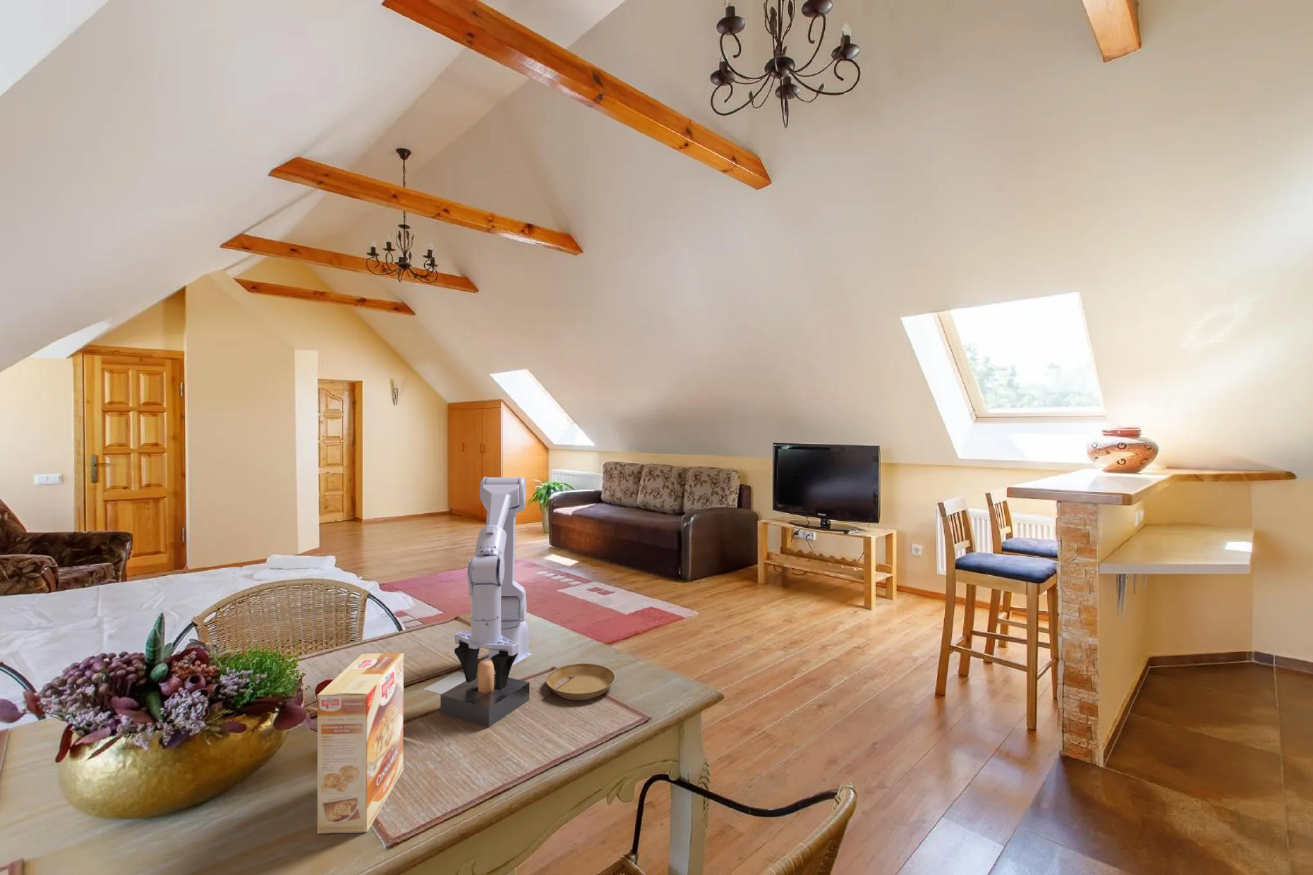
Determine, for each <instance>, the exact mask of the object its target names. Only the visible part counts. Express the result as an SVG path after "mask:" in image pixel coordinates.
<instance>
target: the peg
mask: <svg viewBox="0 0 1313 875" xmlns="http://www.w3.org/2000/svg"><path fill="white" fill-rule="evenodd" d="M481 661H482V660H481ZM481 661H480V662H477V675H478V692H479V693H483V694H486V695H487V694H489V693H491V692H492V691H494V674H495V670H494V665H493V662H492V661H482V662H481Z"/></svg>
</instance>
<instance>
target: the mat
mask: <svg viewBox="0 0 1313 875" xmlns="http://www.w3.org/2000/svg"><path fill="white" fill-rule="evenodd" d="M465 681H466V678H465V675H464V671H456V672H453V673H452V674H449V675H448V676H446V677H444V678H442V679H440V680H438V681H436V682H434V683H432V684H430V685H427V687H424V688H423V689H422V690H423V691H428V692H431V693H436V694H439V695H441V694H443V693H445V692H446V691H448V690H450V689H452V688H454V687H456V686H457V685H459V684H461V683H463V682H465Z"/></svg>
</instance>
